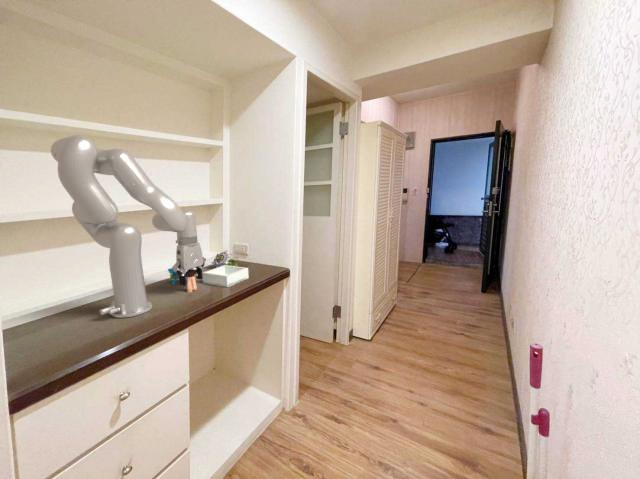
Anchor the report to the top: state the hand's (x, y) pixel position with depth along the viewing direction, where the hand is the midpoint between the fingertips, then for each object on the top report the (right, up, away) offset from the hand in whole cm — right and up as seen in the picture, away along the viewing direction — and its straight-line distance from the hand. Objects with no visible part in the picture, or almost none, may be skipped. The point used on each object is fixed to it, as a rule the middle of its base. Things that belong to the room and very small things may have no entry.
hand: (191, 281), depth 127 cm
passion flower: (+4, +2, +34) cm, 34 cm away
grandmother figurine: (0, -4, +1) cm, 4 cm away
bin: (+11, -1, +13) cm, 17 cm away
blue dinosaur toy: (-11, -2, +12) cm, 17 cm away
